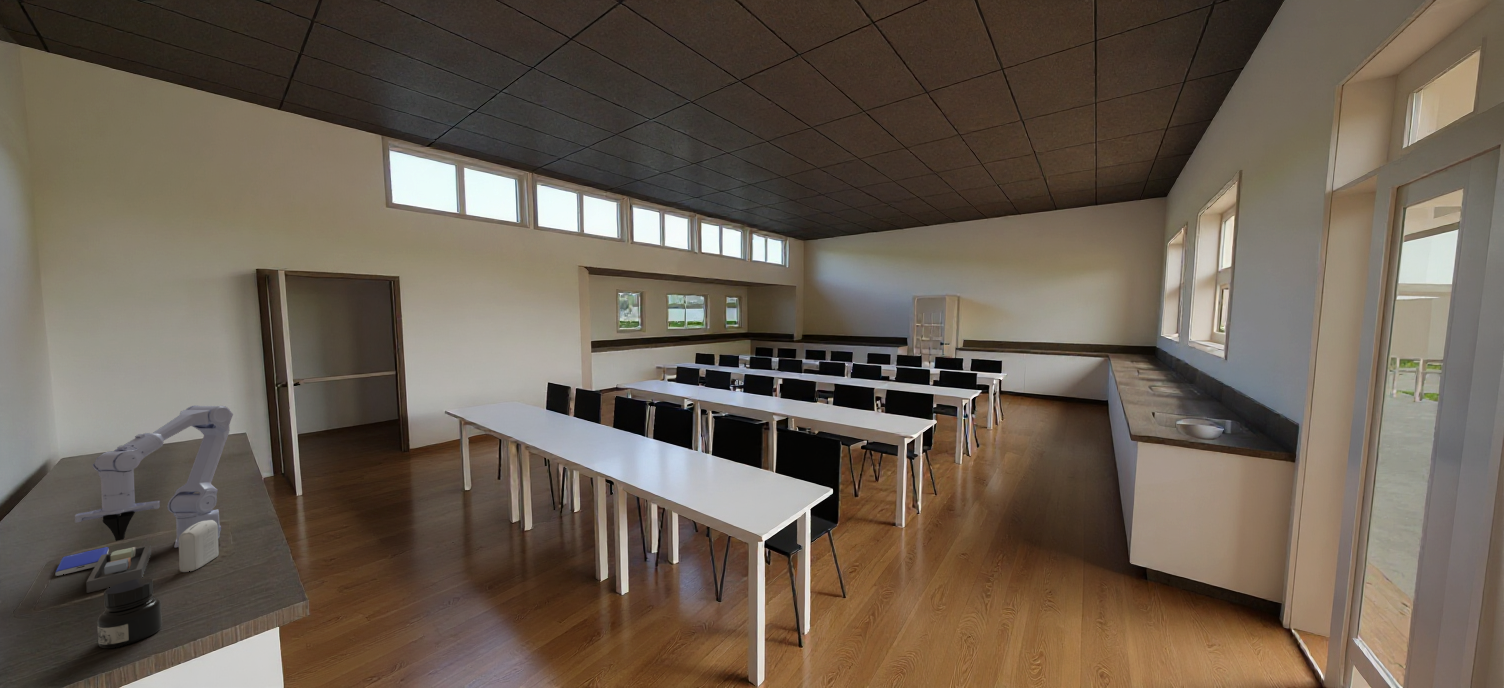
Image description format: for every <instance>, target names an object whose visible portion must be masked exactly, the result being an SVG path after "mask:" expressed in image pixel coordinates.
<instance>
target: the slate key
mask: <svg viewBox="0 0 1504 688" xmlns="http://www.w3.org/2000/svg"><path fill="white" fill-rule="evenodd" d="M127 568H128V558H127V559H122V560H118V561H113V562H109V563H106V565H105V567H104V571H105V575H106V574H110V573H112V574H116V573H120V572H122V571H123V570H127Z"/></svg>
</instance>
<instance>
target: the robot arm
mask: <svg viewBox="0 0 1504 688" xmlns="http://www.w3.org/2000/svg"><path fill="white" fill-rule="evenodd" d="M233 416H234V413H233V412H232V411H231V410H230V408H229V407H228V406H226V405H190V406H189V407H187V408H186V409H183V410H181V411H180V413H179V415H177V416H176V417H174V418H172V420H170V421H169V422H167V423H165V424H164V425H162V426H161V427H160V428H158V429H155V431H154V432H151V433H150V432H145V433H138V434H136V435H135V436H134V438H132V439H131V440H130V441H128V442H127V443H125V444H123V445H118V446H117V447H116V449H115V450H114V451H113V450H109V451H106V452H103V453H102V454H100V455H99V456H97V457H96V458H95V461H94V462H93V463H92V464H91V465H92V468H93V469H94V470H95V471H96V472H97V474H98V477H99V479H100V488H101V489H100V490H101V491H100V493H101V508H99V509H94V510H90V511H84V512H79V513H76V514H74V523H76V524H77V523H81V522H83V521H89V520H95V519H100V518H102V523H103V524H104V525H105V526H106V527H107V528H109V530H110V531H111V533H112V535H113V537H114V540H115V542H117V541H122V540H125V538H126V533H127V532H126V531H127V528H128V526H129V524H130V522H131V520H132V518H133V517H134V515H135V513H136V512H141V511H147V510H157V509H158V510H159V508H160V506H161V505H160V504H161V503H160V502H161V501H160V500H154V501H153V500H152V501H145V502H136V494H135V493H136V492H135V469H137V468H138V466H139V465H140V464H141V461H142V460H144V459H145V458H146V457H147V456H149V455H150V454H152V453H154V452H156V451H158V450H159V449H161V448H162V447H163V446H164V441H166V440H167V439H169V438H171V437H173V436H175V435H177V434H179V433H180V432H182V431H184V430H186V429H188V428H190V427H192V428H194V429H196V430H198V431H199V432H200V433H201V434H202V435H203V437H202V440H201V442H200V445H199V447H198V451H197V454H196V456H195V459H194V462H193V465H192V467H191V470H190V473H189V476H188V478H187V480H186V483H184V484H182V486H180V487H179V488H177V489H176V490H175V492H174V493H173V495H172V496H171V498H170V499H169V501H168V502H167V507H166V508H167V511H169V512H170V513H171V514H173V517H175V523H176V539H175V543H174V546H173V547H174V548H175V549H176V548H179V537H180V535H181V534H182V533H183V532H184V531H185V530H186V529H188V528H189V527H190V526H192V525H194V524H196V523H198V522H201V521H207V520H213V521H215V522H216V523H217V525H218V539H220V535H221V534H220V533H221V531H222V525H220V511H219V510H220V509H214V508H215V507H216V505H217V502H218V497H217V493H218V491H219V490H218V488H216V487H215V486H214V485H213V484H212V482H213V480H214V477H215V473H216V470H217V468H218V465H219V462H220V459H221V456H222V454H223V451H224V448H225V445H226V442H227V439H228V437H229V434H230V424H231V421H232V418H233Z"/></svg>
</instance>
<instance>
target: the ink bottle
mask: <svg viewBox="0 0 1504 688" xmlns="http://www.w3.org/2000/svg"><path fill="white" fill-rule="evenodd" d="M153 582H154V581H153V577H143V578H140V579H134V580H130V581H126V582H123V583H120V584H117V585H114V586H112V587H110V588H106V589H105V590H104V591H103V598H104V600H103V602H104V608H105V610H104V611H102V612H101V613H100V615H99V616H98V617H97V622H96V625H97V641H98V642H97V643H98V646H99V647H100V648H103V649H116V648H120V646H121V647H124V646H128V645H131V644H134V643H136V642H137V643H138V642H139V641H142V640H143V639H146V638H149V637H151V636H153V635H154V634H155V633H157V632H159V631H160V630H161V628H162V627H163V626H162V625H163V619H162V618H163V617H162V615H163V613H162V602H161V599H160V598H157V597H154V596H153V595H154V583H153ZM127 644H128V645H127ZM123 645H124V646H123ZM115 647H116V648H115Z"/></svg>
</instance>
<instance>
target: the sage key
mask: <svg viewBox="0 0 1504 688" xmlns="http://www.w3.org/2000/svg"><path fill="white" fill-rule="evenodd" d="M118 550H119V551H118ZM118 550H114V551H112V552H111V553H112V554H111V556H110V558H111V561H116V560H120V559H125V558H129V557H131V558H132V556H133V548H132V547H128V549H127V548H124V550H122V549H118Z"/></svg>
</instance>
